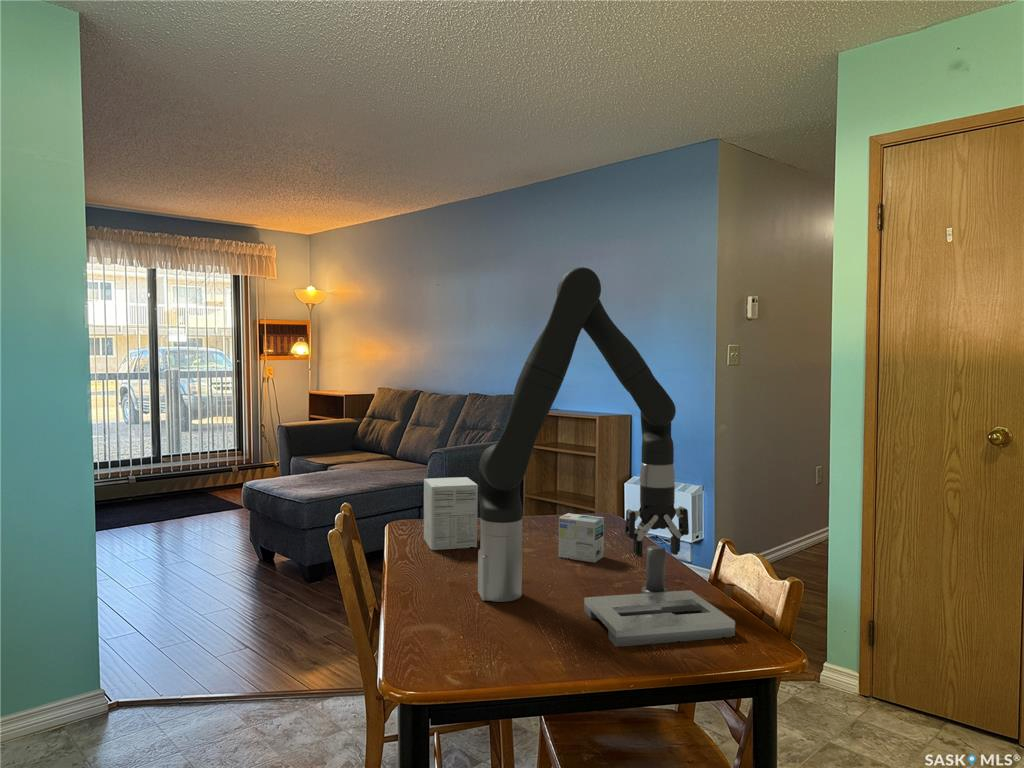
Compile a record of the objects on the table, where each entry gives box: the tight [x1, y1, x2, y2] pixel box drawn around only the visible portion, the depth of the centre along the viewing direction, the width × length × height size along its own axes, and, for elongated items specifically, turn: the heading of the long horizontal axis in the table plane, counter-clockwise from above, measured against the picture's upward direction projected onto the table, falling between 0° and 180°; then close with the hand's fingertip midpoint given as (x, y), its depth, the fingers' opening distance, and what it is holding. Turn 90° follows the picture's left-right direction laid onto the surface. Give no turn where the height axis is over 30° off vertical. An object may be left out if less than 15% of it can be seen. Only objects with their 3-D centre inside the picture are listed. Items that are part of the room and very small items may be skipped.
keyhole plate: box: [583, 589, 736, 648], centre depth 140 cm, size 24×18×3 cm
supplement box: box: [423, 476, 479, 551], centre depth 198 cm, size 13×13×18 cm
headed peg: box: [640, 545, 670, 594], centre depth 157 cm, size 6×6×10 cm
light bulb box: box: [557, 512, 605, 564], centre depth 186 cm, size 11×7×11 cm, turn 63°
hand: (656, 555), depth 157 cm, fingers open, 8 cm apart
